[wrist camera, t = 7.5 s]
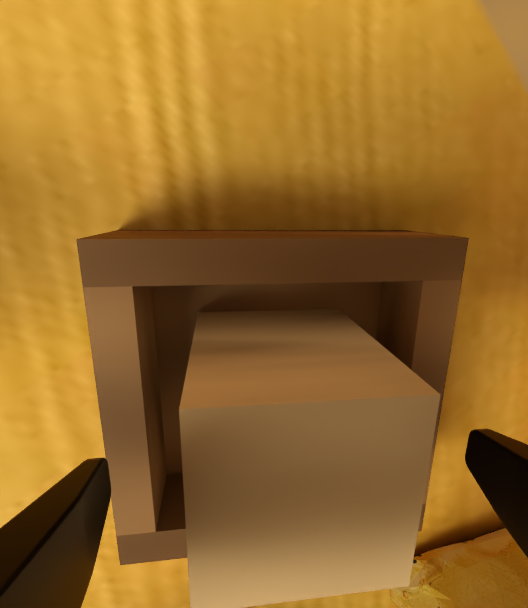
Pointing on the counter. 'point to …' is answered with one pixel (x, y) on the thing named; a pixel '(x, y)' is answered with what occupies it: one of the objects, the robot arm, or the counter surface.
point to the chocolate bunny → (468, 576)
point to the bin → (230, 298)
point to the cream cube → (299, 458)
